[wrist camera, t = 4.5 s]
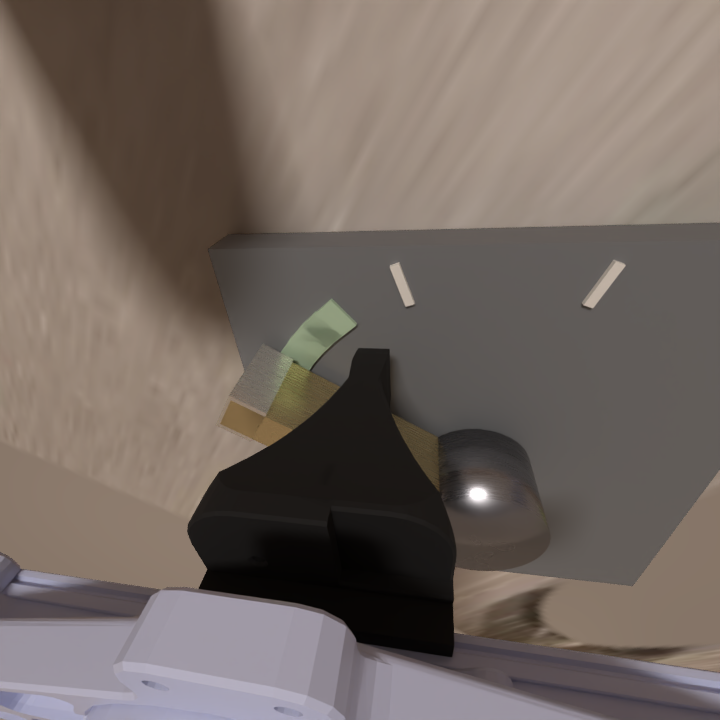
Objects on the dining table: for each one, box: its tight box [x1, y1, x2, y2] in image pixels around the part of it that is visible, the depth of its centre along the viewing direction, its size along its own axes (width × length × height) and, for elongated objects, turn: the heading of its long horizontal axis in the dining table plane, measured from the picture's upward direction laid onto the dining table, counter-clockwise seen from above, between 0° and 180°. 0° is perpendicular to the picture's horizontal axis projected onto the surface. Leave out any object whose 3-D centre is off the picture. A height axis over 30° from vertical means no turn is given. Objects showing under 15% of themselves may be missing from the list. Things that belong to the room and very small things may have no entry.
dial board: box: [208, 223, 720, 586], centre depth 16 cm, size 18×18×2 cm
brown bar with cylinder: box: [216, 344, 551, 571], centre depth 13 cm, size 4×12×3 cm, turn 61°
